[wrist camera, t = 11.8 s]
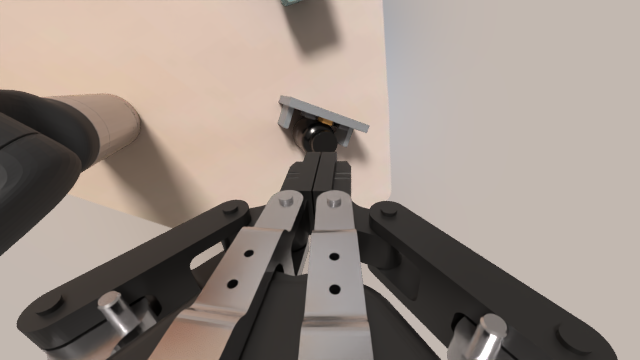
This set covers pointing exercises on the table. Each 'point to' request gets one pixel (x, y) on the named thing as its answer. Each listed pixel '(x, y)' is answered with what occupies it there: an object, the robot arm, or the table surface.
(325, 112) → the panel
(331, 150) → the supplement bottle
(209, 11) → the table surface
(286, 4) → the flower pot
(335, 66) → the table surface
